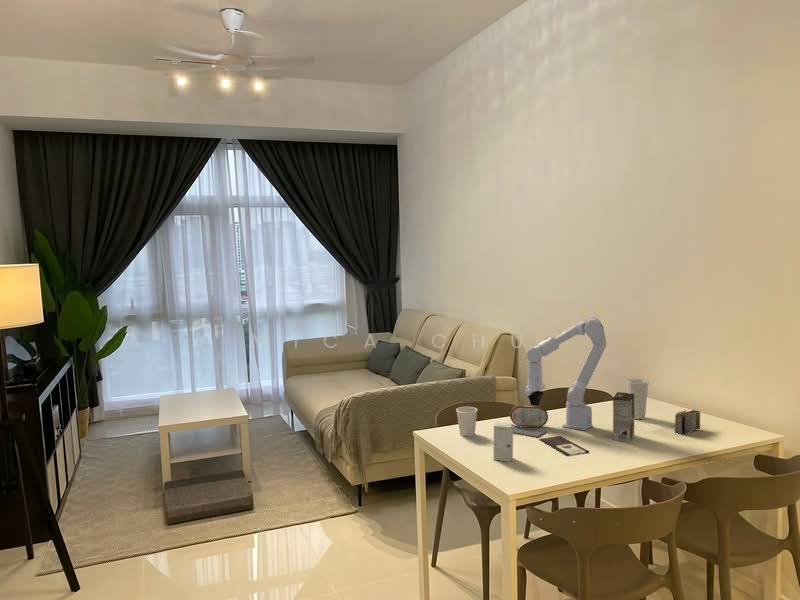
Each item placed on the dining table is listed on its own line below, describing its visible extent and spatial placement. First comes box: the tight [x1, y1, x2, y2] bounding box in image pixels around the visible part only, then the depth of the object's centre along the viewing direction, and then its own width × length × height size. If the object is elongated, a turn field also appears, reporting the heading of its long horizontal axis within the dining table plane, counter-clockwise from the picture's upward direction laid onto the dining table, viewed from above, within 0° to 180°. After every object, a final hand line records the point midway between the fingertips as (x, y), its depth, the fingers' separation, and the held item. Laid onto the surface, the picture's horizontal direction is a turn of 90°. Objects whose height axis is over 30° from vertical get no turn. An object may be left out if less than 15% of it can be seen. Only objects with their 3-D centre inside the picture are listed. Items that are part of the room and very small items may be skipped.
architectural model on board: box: [674, 409, 701, 435], centre depth 228 cm, size 11×3×10 cm, turn 120°
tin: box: [509, 404, 549, 428], centre depth 240 cm, size 15×3×8 cm, turn 85°
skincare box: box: [492, 421, 514, 463], centre depth 205 cm, size 6×4×12 cm
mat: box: [513, 424, 547, 439], centre depth 235 cm, size 17×8×1 cm, turn 53°
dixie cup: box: [455, 406, 478, 437], centre depth 232 cm, size 8×8×10 cm
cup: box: [626, 378, 649, 420], centre depth 247 cm, size 8×8×16 cm
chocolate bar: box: [539, 435, 590, 457], centre depth 217 cm, size 9×1×18 cm
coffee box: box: [612, 391, 635, 443], centre depth 223 cm, size 9×6×16 cm
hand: (535, 409), depth 244 cm, fingers closed
